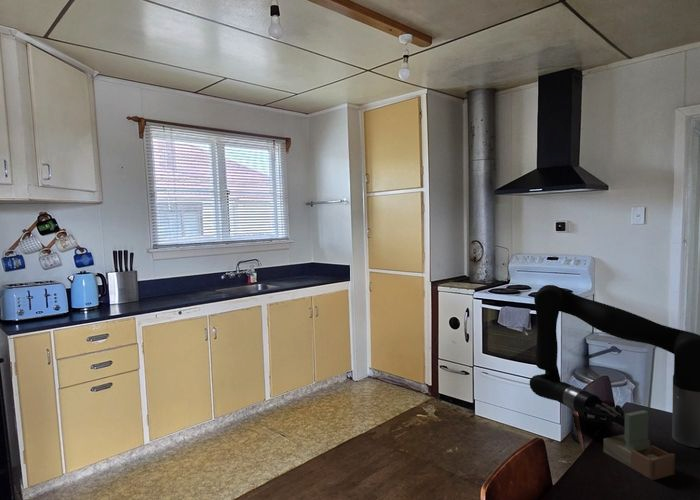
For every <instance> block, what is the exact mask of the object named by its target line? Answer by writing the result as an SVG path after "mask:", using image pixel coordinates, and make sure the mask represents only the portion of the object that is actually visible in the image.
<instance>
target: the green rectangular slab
mask: <svg viewBox="0 0 700 500" xmlns="http://www.w3.org/2000/svg"><path fill="white" fill-rule="evenodd" d="M624 417H625V427H624V434H625V441H626V448H627V449H629V450H635V451H636V452H637V451H641V450H645V449H649V448H650V447H651V440H650V439H649V411H647V410H644V409H642V410H635V411H632V412H628V413H624Z"/></svg>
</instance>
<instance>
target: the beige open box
mask: <svg viewBox="0 0 700 500" xmlns="http://www.w3.org/2000/svg"><path fill="white" fill-rule="evenodd" d="M602 442H603V447H602V448H603V449H602V450H603V451H602V452H603V453H605V454H607V455H608V456H610V457H611V458H613V459H615V460H617V461H619V462H620V463H622V464H624V465H626V466H627V467H629V468H631V450H629V449H627V448H626V441H625V433H623V434H619V435H618V434H617V435H615V436H610V437H605V438H603V441H602ZM637 452H638V453H640V454H642V455H644V456H647V455H649V454H650V452H651V446H650V448H649V449H645V450H641V451H637Z"/></svg>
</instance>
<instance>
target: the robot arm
mask: <svg viewBox="0 0 700 500" xmlns="http://www.w3.org/2000/svg"><path fill="white" fill-rule="evenodd" d="M533 299H534V300H533V301H534V308H535V315H536V327H537V328H536V329H537V330H536V331H537V332H536V344H535V345H536V349H535V365H536V366H535V367H536V368H538V369H540V370H541V371H542V370H543V371H545V372H544V373H542V374H536V375H533V376H532V377H531V378H530V379H529V388H530V390H531V391H532V392H533V393H534V394H535V395H537V396H538V397H540V398H544V399H548V400H551V401H556V402H558V403H560V404H562V405H564V406H565V407H568V408H569V409H570V410H572V411H573V412H576V413H578V414H580V415H581V416H583V417H586V418H587V420H588V421H593V422H598V423H602V424H603V423H604V424H607V425H608V424H609V425H610V424H611V423H612V424H614V425H618V426H621V427H623V428H625V412H624V410H623V409H622V407H621V405H619V404H617V405H616V404H615V406H611V405H609V404H607V403H606V402H605V403H604V402H603V401H602V399H601V398H600V397H599V396H598V395H596V394H594V393H591V392H590V391H586V390H585V389H582V388H579V387H576V386H574V385H571V384H569V383H567V382H564V381H561V376H560V373H559V367H558V353H559V351H558V350H559V349H558V348H559V347H558V338H557V337H558V336H557V335H558V334H557V326H558V325H557V324H558V318H559V315H560V312H561V313H565V314H567V315H571V316H573V317H576V318H578V319H579V320H581V321H583V322H584V323H586V324H587V325H589V326H590V327H592V328H594V329H595V330H597V331H600V332H602V333H604V334H607V335H609V336H613V337H615V338H618V339H621V340H625V341H630V342H636V343H641V344H648V345H651V346H654V347H657V348H660V349H662V350H664V351H667V352H668V353H670V354H673V359H674V361H673V375H672V410H671V411H672V412H671V413H672V414H671V419H672V420H671V438H672V439H673V440H674V441H676V442H677V443H678V444H682V445H683V446H687V447H691V448H696V449H700V334H698V333H695V332H691V331H687V330H684V329H683V330H682V329H679V328H676V327H671V326H668V325H663V324H660V323H659V322H655V321H653V320H650V319H649V318H646V317H643V316H640V315H638V314H635V313H633V312H631V311H627V310H625V309H621V308H618V307H616V306H612V305H609V304H605V303H603V302H599V301H595V300H592V299H588V298H585V297H583V296H580V295H577V294H575V293H573V292H571V291H568V290H566V289H564V288H562V287H560V286H557V285H554V284H547V285H544V286H542V287H540V288H539V289H538V290H537V292H536V293H535V295H534V297H533Z"/></svg>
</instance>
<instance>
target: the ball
mask: <svg viewBox="0 0 700 500" xmlns="http://www.w3.org/2000/svg"><path fill="white" fill-rule="evenodd" d="M646 457H648V458H649V459H651V458H655V457H657V456H656V455H653V454H649V455H647V456H646Z"/></svg>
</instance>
